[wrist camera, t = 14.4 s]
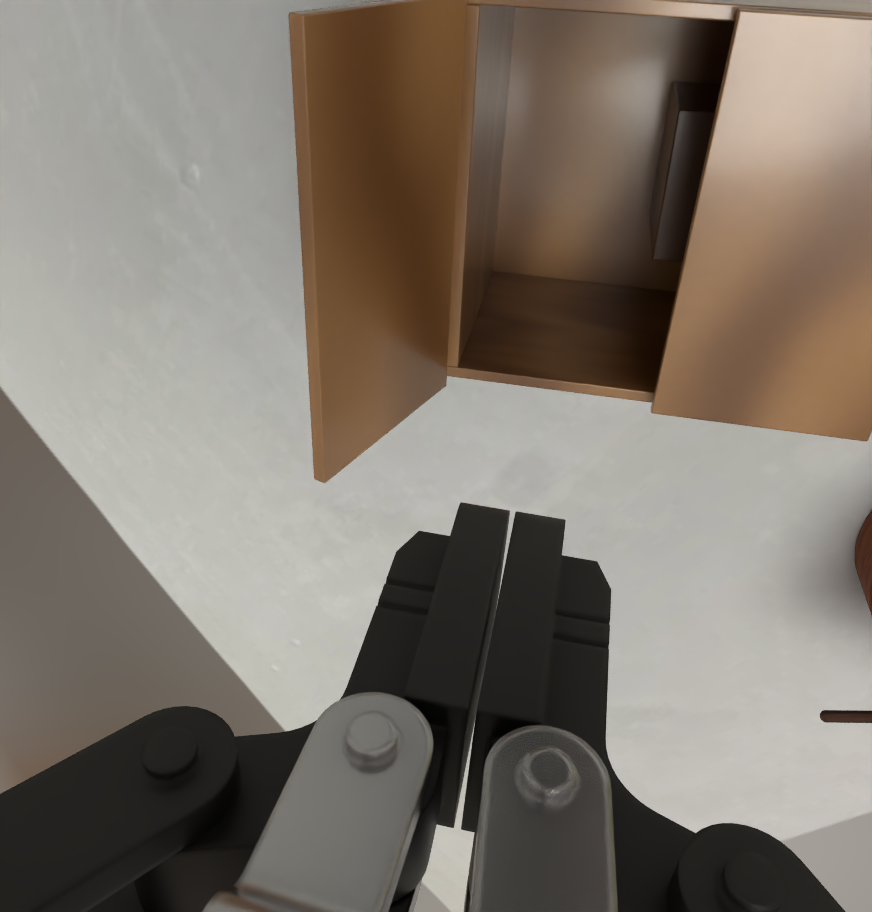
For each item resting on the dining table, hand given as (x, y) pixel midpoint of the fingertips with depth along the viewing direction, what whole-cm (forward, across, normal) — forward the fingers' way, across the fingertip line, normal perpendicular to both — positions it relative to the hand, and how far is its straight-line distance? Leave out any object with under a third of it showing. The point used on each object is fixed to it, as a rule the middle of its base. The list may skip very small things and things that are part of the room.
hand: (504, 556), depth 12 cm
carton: (+25, -3, 0) cm, 25 cm away
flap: (+12, +5, 0) cm, 13 cm away
